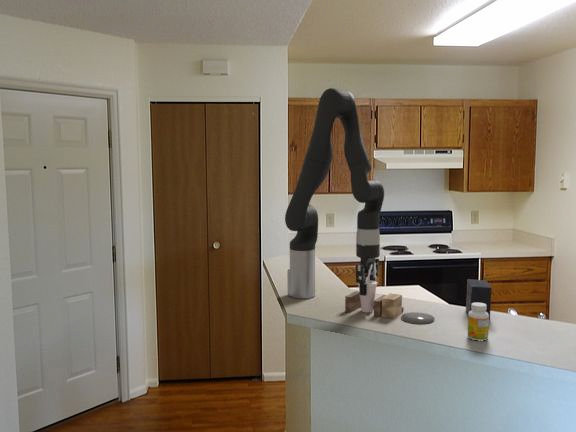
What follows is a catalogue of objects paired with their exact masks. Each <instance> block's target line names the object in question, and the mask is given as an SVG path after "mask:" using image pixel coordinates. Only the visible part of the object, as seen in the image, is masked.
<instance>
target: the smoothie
mask: <svg viewBox="0 0 576 432" xmlns="http://www.w3.org/2000/svg"><path fill="white" fill-rule="evenodd" d="M357 287H358V291H359V293H360V284H359V283H357ZM377 287H378V281H376V280H375V281H373V280H369V278H368V280H367V295H365V296H363V295H360V302H361V307H360V308H361V309H360V310H361V312H362V313H374V308H373V307H374V300H376V299H375V298H376V291H377Z"/></svg>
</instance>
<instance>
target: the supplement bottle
mask: <svg viewBox="0 0 576 432" xmlns="http://www.w3.org/2000/svg"><path fill="white" fill-rule="evenodd" d="M471 309H472V310H471V311H470V312H469V313H468V314H467V318H468V319H467V338H468V339H469V338H470V339H469V340H471V339H472V341H474V340H486V339H487V340H489V323H490V322H489V321H490V320H489V314H488V313H487V312H486V309H487V305H486V304H484V303H478V302H476V303H472V304H471ZM487 340H486V341H487Z"/></svg>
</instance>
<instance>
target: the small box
mask: <svg viewBox="0 0 576 432" xmlns="http://www.w3.org/2000/svg"><path fill="white" fill-rule="evenodd" d="M466 283H467V284H466V300H465V301H466V302H465V303H466V304H465V311H466V313H467V315H468V313H469V312H470V311H471V310H472V309H471V304H472V303H476V302H478V303H484V304H486V305H487V309H486V312H487V313H488V314H489V321H490V320H491V306H492V286H491V285H490V283H489V282H488V281H487V280H485V279H484V280H483V279H470V278H468V279H466Z"/></svg>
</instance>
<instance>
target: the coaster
mask: <svg viewBox="0 0 576 432" xmlns="http://www.w3.org/2000/svg"><path fill="white" fill-rule="evenodd" d="M401 320H402V321H404V322H406V323H408V324H409V323H410V324H414V325H415V324H417V325H427V324H431V323H433V322H435V316H433V315H432V314H430V313H429V314H428V313H424V312H416V311H415V312H405V313H403V314H401Z"/></svg>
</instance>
